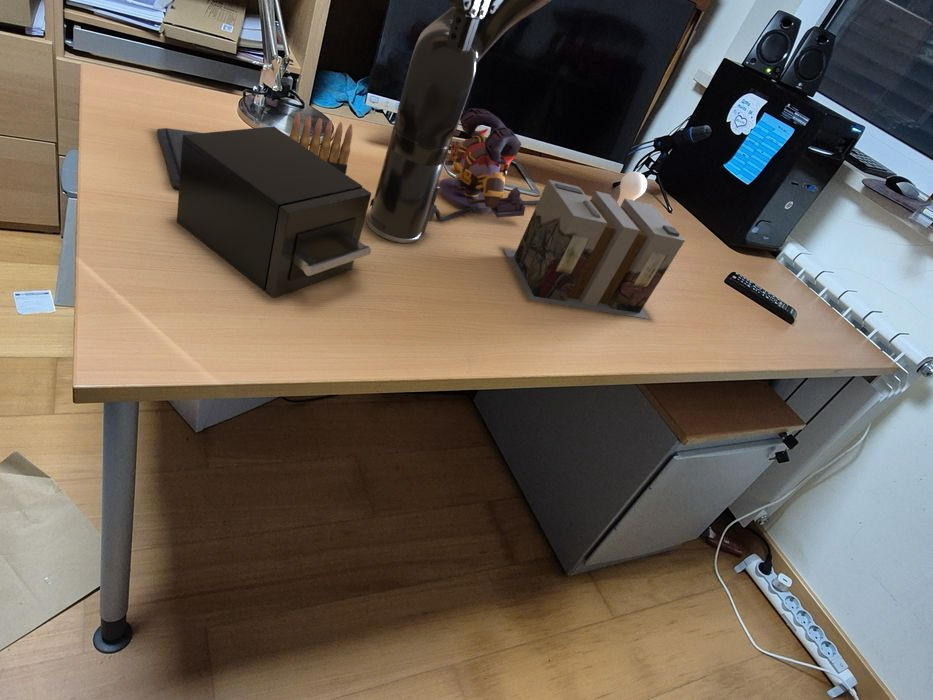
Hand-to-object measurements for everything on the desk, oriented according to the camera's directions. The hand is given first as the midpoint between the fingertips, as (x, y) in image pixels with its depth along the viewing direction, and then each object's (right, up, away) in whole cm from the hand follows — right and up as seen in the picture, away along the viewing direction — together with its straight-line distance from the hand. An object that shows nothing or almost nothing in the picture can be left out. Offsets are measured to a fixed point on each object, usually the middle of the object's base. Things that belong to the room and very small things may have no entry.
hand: (457, 50), depth 68 cm
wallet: (-41, -3, +34) cm, 53 cm away
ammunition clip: (-26, -4, +41) cm, 49 cm away
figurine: (+2, -2, +59) cm, 59 cm away
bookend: (+21, -21, +46) cm, 55 cm away
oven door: (-19, -24, +18) cm, 36 cm away
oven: (-29, -18, +21) cm, 40 cm away
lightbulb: (+38, 0, +82) cm, 91 cm away
